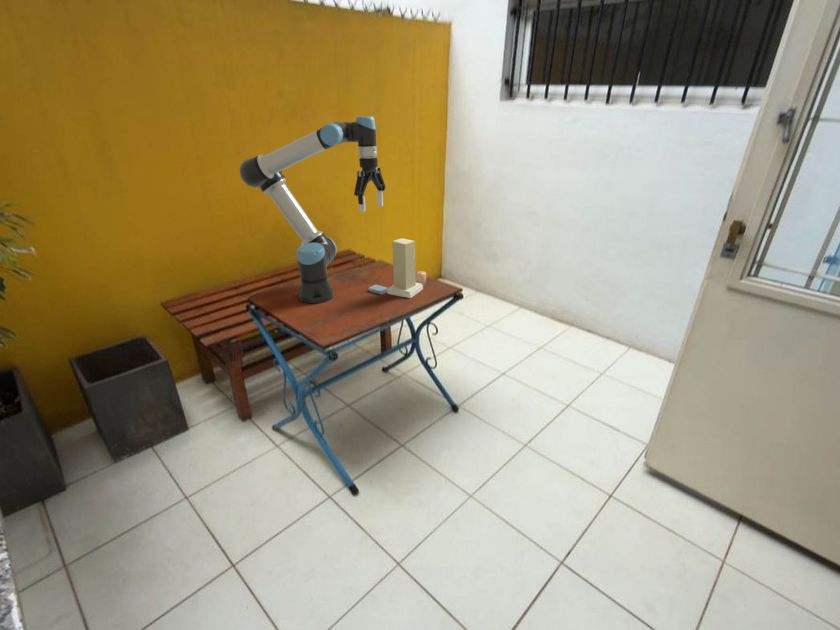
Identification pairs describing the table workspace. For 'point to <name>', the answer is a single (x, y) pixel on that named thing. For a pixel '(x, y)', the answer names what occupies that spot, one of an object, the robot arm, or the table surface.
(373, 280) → the table surface
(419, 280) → the peach egg shape
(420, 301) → the table surface
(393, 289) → the podium
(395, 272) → the tall cream block
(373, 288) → the book
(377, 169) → the robot arm
